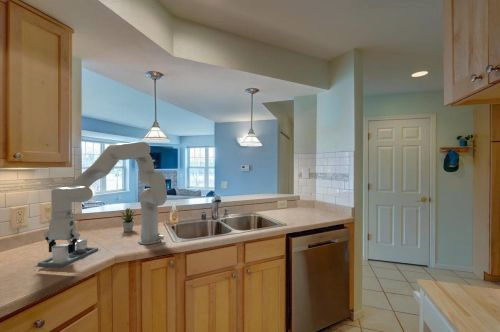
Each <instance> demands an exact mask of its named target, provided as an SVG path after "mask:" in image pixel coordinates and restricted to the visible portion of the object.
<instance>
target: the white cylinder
mask: <svg viewBox="0 0 500 332" xmlns="http://www.w3.org/2000/svg"><path fill="white" fill-rule="evenodd" d="M68 245H69V243H68V242H67V243H65V242H64V243H58V244H56V245H54V246H52V252H51V257H53V263H62V262H65V261H67V260H68V258H69V253H68Z"/></svg>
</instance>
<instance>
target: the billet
mask: <svg viewBox="0 0 500 332" xmlns="http://www.w3.org/2000/svg"><path fill="white" fill-rule="evenodd" d="M87 247H88V238H79V239H78V241H77V242H76V243H75V251H74V252H72V253H71V254H74V255H81V254H84V253H86V252H87Z"/></svg>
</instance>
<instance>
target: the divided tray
mask: <svg viewBox="0 0 500 332" xmlns="http://www.w3.org/2000/svg"><path fill="white" fill-rule="evenodd" d="M100 251H101V249H99V248H98V247H89V246H87V252H86V253H84V254H81V255H74V254H71V253H69V258H68V260H67V261H65V262H62V263H53V257H52V256H50V257H49V258H46V259H44V260H41V261H38V262H37V264H35V265H34V267H38V268H51V269H64V268H65V267H68V266H69V265H70V266H71V264H73V263H76V262H78V261H81V260H84V259H85V258H86V257H90V256H91V255H93V254H95V253H97V252H100Z"/></svg>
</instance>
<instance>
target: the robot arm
mask: <svg viewBox="0 0 500 332" xmlns="http://www.w3.org/2000/svg"><path fill="white" fill-rule="evenodd" d="M150 153H151V145H150V144H148V143H147V142H146V141H132V142H131V141H130V142H127V143H112V144H110V145H108V146H107V147H106V148H105V149H104V150H103V151H102V153H101V154H100V155H99V156H98V157H97V158H96V160H95V161H94V162H93V163H92V164H91V165H90V166H89V167H87V169H86V170H84V171H83V172H81V174H79V175H78V177H76V179H75V180H74V181H73V182H72V183H71V184H70V186H69V187H67V186H63V187H62V186H60V187H53V188H52V189H51V195H50V196H51V198H50V199H51V203H50V206H51V207H50V208H51V217H50V219H49V225H48V231H45V232H44V233H43V236H44V239H45V240H46V243H47V244H48V253H52V246H54V245H57V242H56V241H67V244H69V245H68V253H72V252H74V251H75V243H76V242H77V241H78V239H80V236H81V234H80V233H79V232H77V228H76V222H75V221H76V220H75V217H74V216H73V215H74V212H73V203H85V202H88V201H90V200H91V199H92V198H93V194H94V192H93V190H92V189H91V188H90V187H91V186H92V185H93V184H94V183H96V182H97V181H98V180H101V179H103V178H105V177H107V176H108V175H109V174H110V173H111V171H112V170H113V169H114V167H116V165H117V164H118V163H119V161H125V160H127V161H128V160H133V159H134V160H135V163H137V169H138V176H139V182H140V184H141V185H142V186H144V187H147V188H145V189H143V190H142V191H141V192H140V194H139V201H140V212H141V214H140V216H141V217H140V238H139V239H138V240H137V243H138V244H140V245H154V244H158V243H159V242H161V240H162V241H163V240H164V238H165V236H164V235H163V234H162V235H160V234H161V233H160V232H159V207H161V206H163V205H164V204H165V203H166V202H167V200H168V199H167V198H168V193H167V185H166V178H165V175H164V174H163V173H162V171H159V170H155V165H154V160H153V157H152V156H151V154H150Z"/></svg>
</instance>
